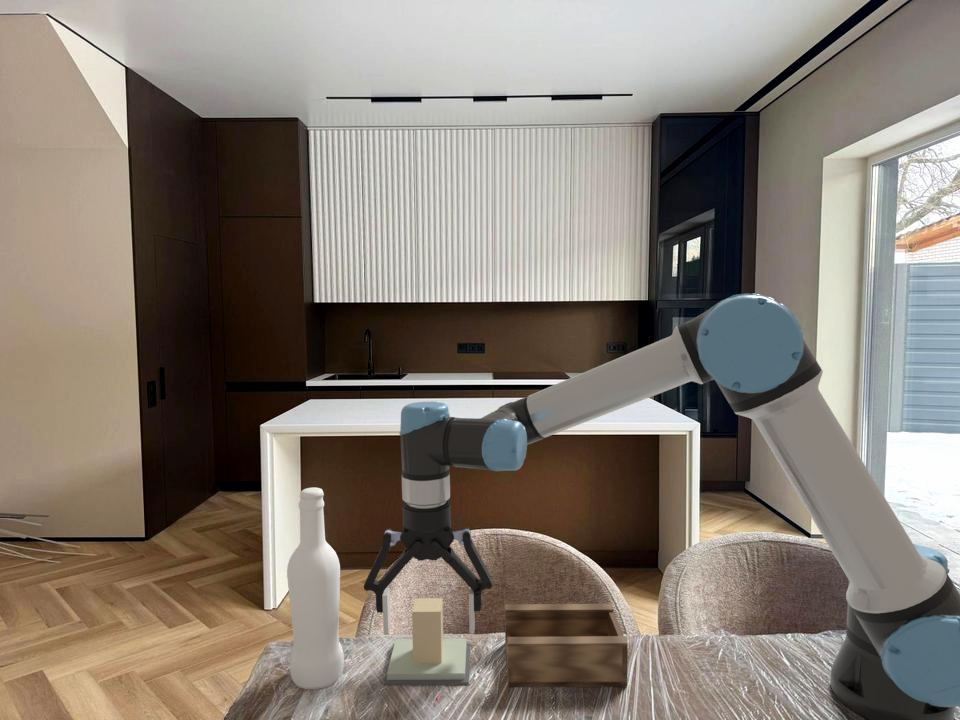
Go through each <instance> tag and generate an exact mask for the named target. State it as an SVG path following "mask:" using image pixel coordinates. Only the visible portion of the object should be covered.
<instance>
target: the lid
mask: <svg viewBox="0 0 960 720" xmlns="http://www.w3.org/2000/svg"><path fill="white" fill-rule="evenodd" d="M443 601H444V599H443V597H442V598H441V597H438V598H436V597H433V598H431V597H430V598H429V597H428V598H426V597H425V598H418V597H417V598H415V599H414V602H413V607H412V610H411V618H412V619H411V621H412V622H411V625H412V629H411V630H412V633H411V634H412V638H396V639H395V640H394V643H393V644H394V648H393V647H392V648H393V651H392V650H391V652H392V655H391V654H390V656H391V659H390V658H389V660H390V663H389V662H388V664H389V667H388V666H387V668H388V671H387V670H386V671H387V680H465V667H466V646H467V643H468V642H467V638H444V614H443V613H444V607H443V606H444V605H443V604H444V602H443Z"/></svg>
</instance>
